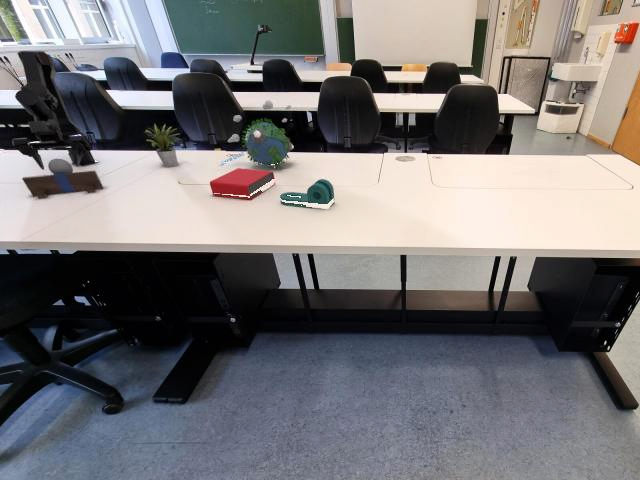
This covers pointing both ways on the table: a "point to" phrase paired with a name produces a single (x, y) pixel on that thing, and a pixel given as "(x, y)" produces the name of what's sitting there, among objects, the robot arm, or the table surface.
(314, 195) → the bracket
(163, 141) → the house plant
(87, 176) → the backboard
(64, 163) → the light bulb
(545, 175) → the table surface
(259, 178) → the red book
